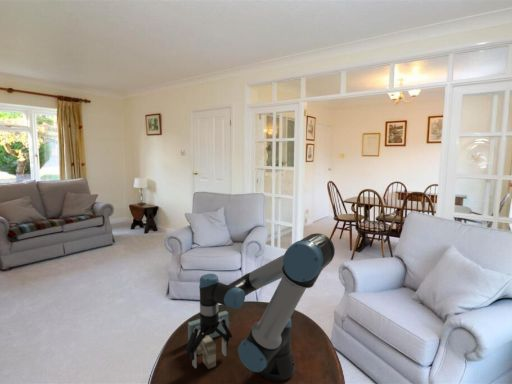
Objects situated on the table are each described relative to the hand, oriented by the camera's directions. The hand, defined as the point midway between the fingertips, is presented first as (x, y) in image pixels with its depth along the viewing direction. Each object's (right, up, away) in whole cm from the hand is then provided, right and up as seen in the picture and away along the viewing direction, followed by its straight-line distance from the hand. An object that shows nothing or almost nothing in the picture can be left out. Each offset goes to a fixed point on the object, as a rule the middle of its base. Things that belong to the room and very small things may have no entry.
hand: (209, 360), depth 126 cm
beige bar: (-3, -2, +5) cm, 6 cm away
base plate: (-3, 0, +19) cm, 20 cm away
